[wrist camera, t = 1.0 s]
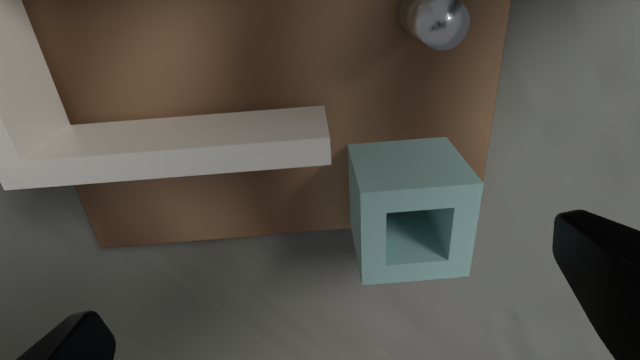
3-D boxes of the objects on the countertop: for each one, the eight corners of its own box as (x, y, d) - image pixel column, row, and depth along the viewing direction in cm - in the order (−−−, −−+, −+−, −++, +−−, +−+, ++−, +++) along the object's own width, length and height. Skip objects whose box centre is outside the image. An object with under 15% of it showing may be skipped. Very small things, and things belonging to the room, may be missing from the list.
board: (519, -148, 13) (534, -155, 12) (469, 206, 20) (477, 218, 19) (-28, -109, 13) (-51, -113, 12) (109, 235, 20) (101, 248, 19)
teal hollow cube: (446, 136, 17) (484, 183, 14) (438, 217, 19) (469, 276, 16) (347, 144, 17) (360, 193, 14) (350, 224, 19) (361, 285, 16)
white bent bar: (310, -128, 12) (313, -153, 9) (325, 129, 16) (331, 164, 14) (-53, -102, 12) (-158, -118, 9) (54, 150, 16) (4, 190, 14)
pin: (435, -13, 14) (472, -3, 11) (432, 29, 15) (466, 48, 12) (396, -9, 14) (422, 0, 11) (395, 32, 15) (420, 52, 12)
